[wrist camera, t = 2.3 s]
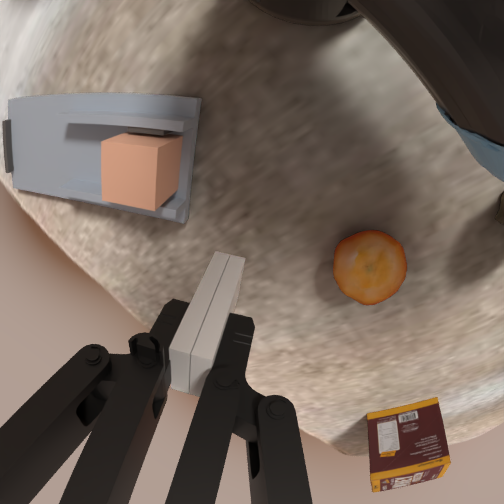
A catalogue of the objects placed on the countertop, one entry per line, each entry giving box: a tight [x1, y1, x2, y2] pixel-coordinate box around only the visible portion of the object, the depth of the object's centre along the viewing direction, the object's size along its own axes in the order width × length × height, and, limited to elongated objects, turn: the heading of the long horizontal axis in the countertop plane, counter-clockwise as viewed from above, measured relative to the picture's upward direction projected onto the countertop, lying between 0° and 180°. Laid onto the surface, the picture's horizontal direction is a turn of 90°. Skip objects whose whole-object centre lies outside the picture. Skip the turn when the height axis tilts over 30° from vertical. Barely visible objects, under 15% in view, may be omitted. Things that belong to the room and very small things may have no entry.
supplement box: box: [367, 397, 451, 492], centre depth 45 cm, size 10×15×16 cm
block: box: [101, 132, 183, 211], centre depth 28 cm, size 6×6×6 cm
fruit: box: [333, 230, 407, 305], centre depth 32 cm, size 8×8×8 cm
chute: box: [3, 93, 202, 223], centre depth 30 cm, size 14×30×4 cm, turn 80°
